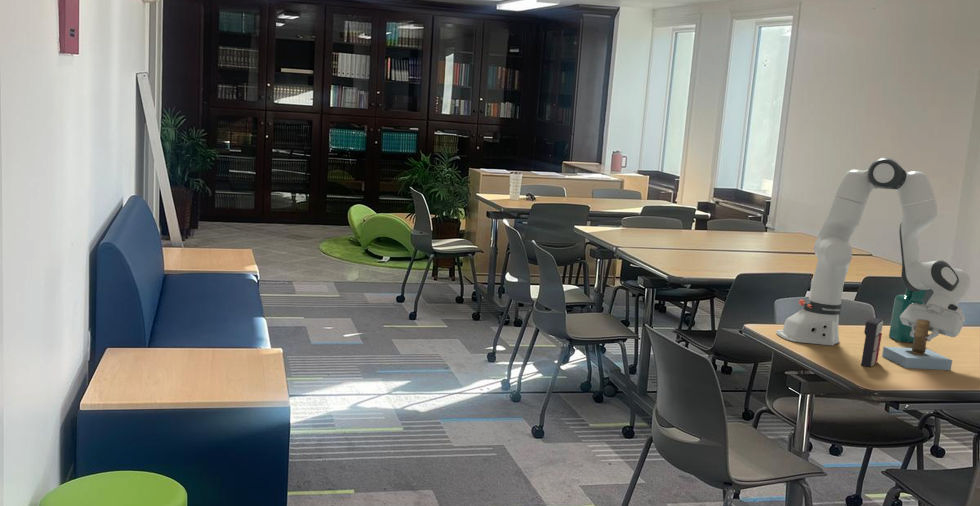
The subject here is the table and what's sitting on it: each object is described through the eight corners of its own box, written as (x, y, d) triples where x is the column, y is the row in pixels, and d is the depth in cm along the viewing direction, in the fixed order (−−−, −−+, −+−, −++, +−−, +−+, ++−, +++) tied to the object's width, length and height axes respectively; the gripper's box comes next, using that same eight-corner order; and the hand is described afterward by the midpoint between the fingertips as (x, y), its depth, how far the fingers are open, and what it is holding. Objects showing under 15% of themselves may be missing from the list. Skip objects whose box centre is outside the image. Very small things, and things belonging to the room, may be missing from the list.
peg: (914, 361, 317) (921, 321, 315) (907, 357, 322) (914, 318, 319) (926, 361, 318) (932, 322, 316) (919, 358, 322) (925, 319, 320)
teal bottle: (886, 336, 359) (895, 281, 355) (907, 337, 360) (916, 282, 356) (900, 342, 349) (909, 286, 346) (921, 344, 350) (930, 287, 347)
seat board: (904, 367, 312) (906, 357, 311) (882, 356, 326) (883, 346, 325) (950, 370, 314) (952, 360, 314) (926, 358, 328) (927, 349, 328)
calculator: (872, 368, 307) (879, 324, 305) (858, 365, 310) (865, 321, 307) (878, 361, 317) (885, 319, 314) (864, 359, 319) (871, 317, 316)
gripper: (909, 296, 329) (889, 324, 325) (965, 309, 313) (945, 339, 309) (914, 307, 332) (894, 336, 328) (970, 321, 316) (950, 351, 312)
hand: (919, 337), depth 318 cm, fingers closed on peg, 4 cm apart
